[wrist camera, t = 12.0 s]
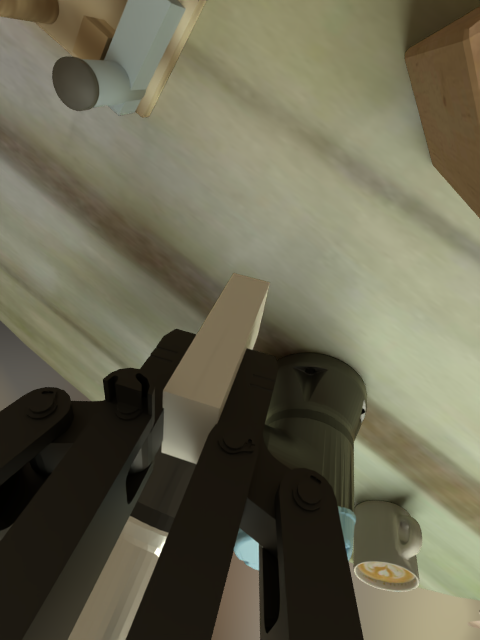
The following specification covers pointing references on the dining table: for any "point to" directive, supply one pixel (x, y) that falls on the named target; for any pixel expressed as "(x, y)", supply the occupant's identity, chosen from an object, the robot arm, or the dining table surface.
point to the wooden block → (451, 102)
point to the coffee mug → (386, 546)
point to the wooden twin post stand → (101, 32)
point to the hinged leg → (121, 60)
